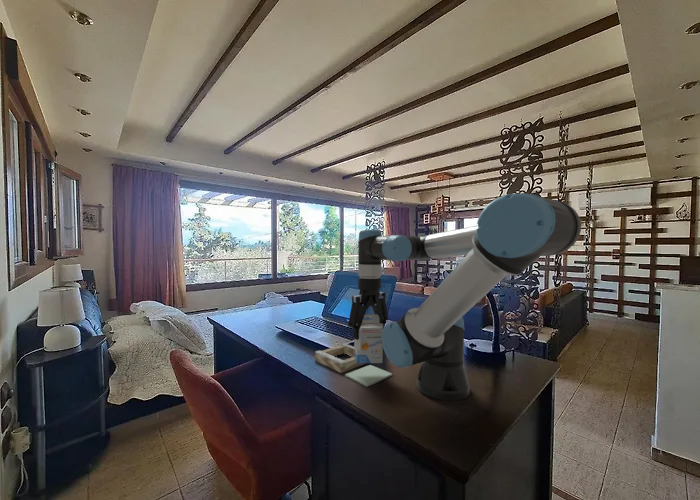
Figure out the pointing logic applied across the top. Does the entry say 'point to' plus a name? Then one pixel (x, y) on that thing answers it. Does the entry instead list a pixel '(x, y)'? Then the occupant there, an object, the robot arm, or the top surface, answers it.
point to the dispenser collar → (335, 363)
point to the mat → (368, 375)
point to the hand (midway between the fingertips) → (368, 345)
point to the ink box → (370, 341)
